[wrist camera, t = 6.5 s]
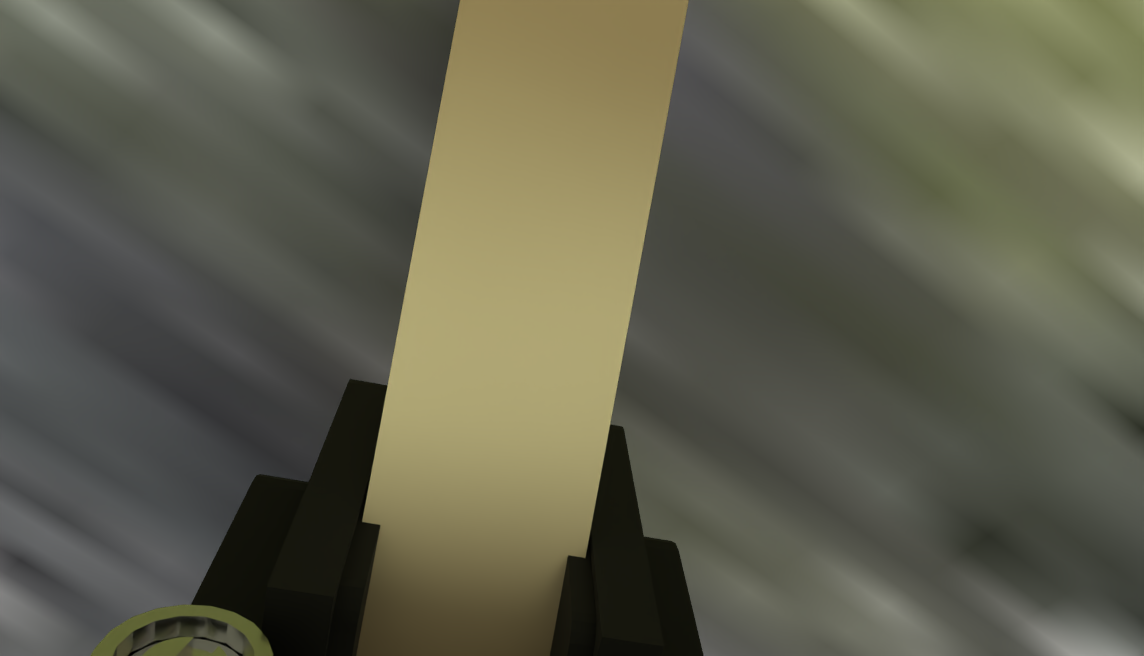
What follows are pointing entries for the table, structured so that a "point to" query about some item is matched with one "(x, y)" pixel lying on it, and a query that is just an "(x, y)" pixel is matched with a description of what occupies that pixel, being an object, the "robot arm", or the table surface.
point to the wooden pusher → (515, 320)
